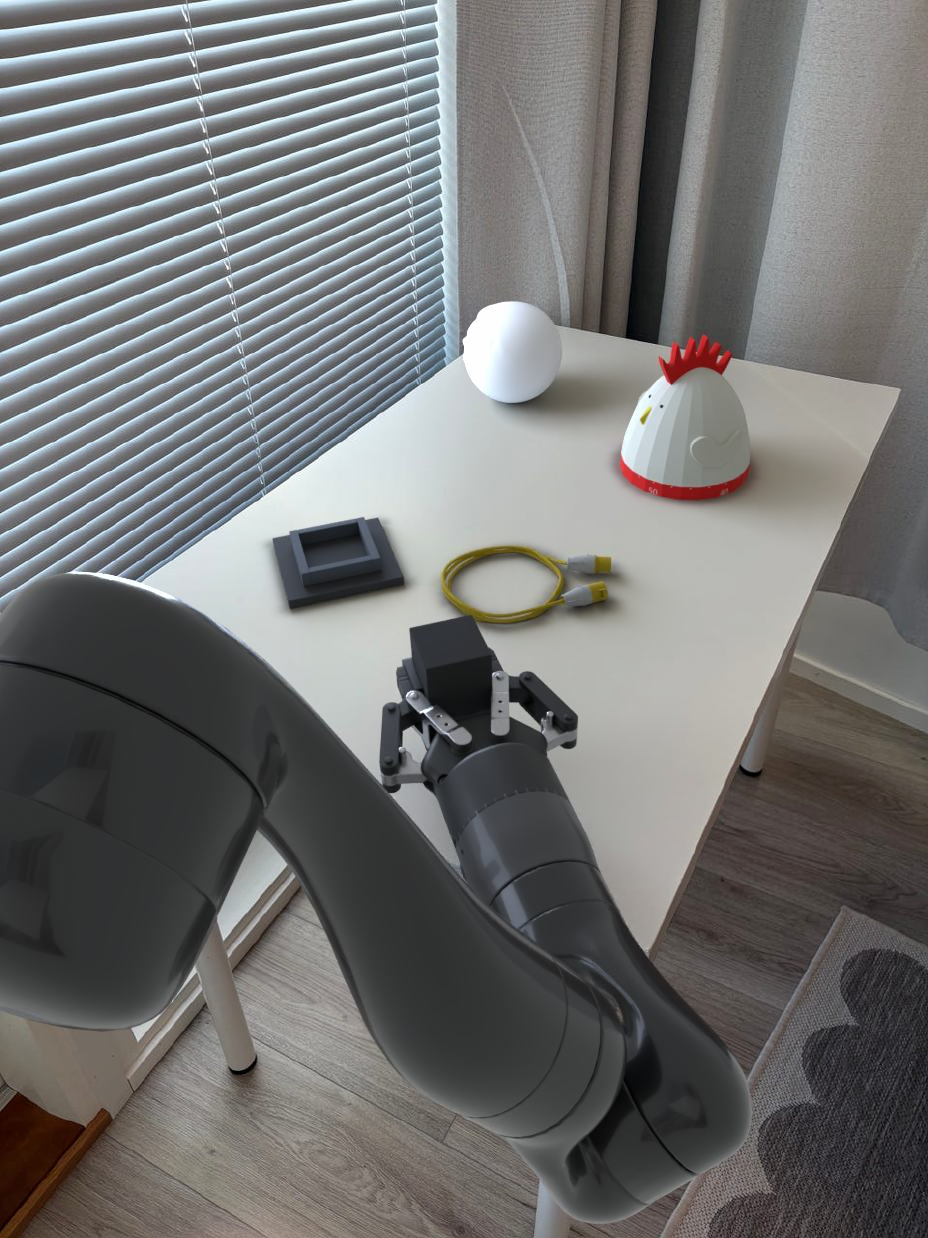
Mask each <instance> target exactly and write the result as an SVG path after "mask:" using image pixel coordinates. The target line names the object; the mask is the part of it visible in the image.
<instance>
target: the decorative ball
mask: <svg viewBox="0 0 928 1238" xmlns="http://www.w3.org/2000/svg"><path fill="white" fill-rule="evenodd" d="M462 345H463V346H464V348H463V357H462V359H463V363H464V364H465V369H466V371H467V374H468V376H469V378H470V380H471V381H472V383H473V384H474V385H475V386H476V387H477V389H478V390H479V391H480V392H482V393H483V394H484V395H485V396H487V397H488V398H490V399H492V400H495V401H497V402H501V403H508V404H517V403H523V402H527V401H530V400H532V399H535V398H536V397H538V396H539V395H541V394H542V393H544V392H545V391H546V390H547V389H548V388H549V387H551V385H552V383H553V382H554V381H555V380H556V379H555V378H557V376H558V373H559V370H560V368H561V363H562V359H563V357H562V356H563V343H562V339H561V336H560V333H559V330H558V328H557V326H556V324H555V323H554V321H553V320H552V319H551V317H549V315H548V314H546V313H545V312H544V311H543V310H542V309H540V308H538V307H537V306H536V305H533V304H530V303H528V302H523V301H515V300H514V301H501V302H498V303H494V304H489V305H487V306H485V307H484V308H482V309H481V310H479V312H478V313H477V316H476V319H475V320H474V321H473V322H472V323H471V324H470V326H469V327H468V329H467V333H466V336H465V337H464V338H463V339H462Z"/></svg>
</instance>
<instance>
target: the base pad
mask: <svg viewBox="0 0 928 1238" xmlns="http://www.w3.org/2000/svg"><path fill="white" fill-rule="evenodd" d="M288 533H289V534H287V535H281V536H277V537H272V538H271V539H272V544H273V549H274V552H275V556H276V560H277V564H278V568H279V572H280V576H281V580H282V584H283V587H284V591H285V596H286V600H287V603H288V608H289V609H290V610H292V609H297V608H301V607H307V606H311V605H315V604H321V603H324V602H330V601H334V600H339V599H343V598H348V597H353V596H357V595H362V594H366V593H367V594H368V593H373V592H377V591H381V590H386V589H391V588H395V587H400V586H404V585H405V579H404V575H403V573H402V570H401V568H400V565H399V563H398V561H397V559H396V557H395V553H394V552H393V549H392V547H391V545H390V542H389V540H388V537H387V535H386V533H385V530H384V527H383V526H382V523H381V521H380V519H379V517H374V518H368V519H365V516H361V517H356V518H351V519H346V520H340V521H336V522H330V523H326V524H320V525H315V526H311V527H305V528H299V529H293V530H289V532H288Z"/></svg>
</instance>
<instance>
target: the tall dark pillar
mask: <svg viewBox="0 0 928 1238" xmlns="http://www.w3.org/2000/svg"><path fill="white" fill-rule="evenodd" d="M408 629H409V638H410V639H409V640H410V652H411V657H412V661H413V663H414V666H415V668H416V671H417V673H418V676H419V678H420V681H421V684H422V686H423V691H424V695H425V696H426V697H427V698H428V700H430V701H431V702H432V703H433V704H434V705H437V704H438V705H439V706H441V707H442V708H443V710H444V711H445V712H446V713H447V714H448V715H449V716H450V717H451V718H452V717H457V716H470V715H472V714H474V713H477V712H479V711H482V710H486V709H490V708H491V685H492V654H491V652H490V650H489V648H490V647H489V646H488V644H487V642H486V640H485V638H484V636H483V634H482V632H481V629H480V628H479V626H478V624H477V622H476V620H475V619H474V618H473V616H472V615H468V616H467V615H462V616H459V617H454V618H449V619H444V620H440V621H436V622H430V623H426V624H421V625H416V626H413V627H409V628H408ZM488 647H489V648H488ZM421 741H422V743H423V745H424V748H425V750H426V752H427V750H428V749H427V747H426V746H425V744H424V741H423V739H422V738H421Z"/></svg>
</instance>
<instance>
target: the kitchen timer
mask: <svg viewBox="0 0 928 1238" xmlns="http://www.w3.org/2000/svg"><path fill="white" fill-rule="evenodd" d="M721 351H722V344H720V343H718V342H717V341H715V342H714V343H713V345H712V347H711V348H710V338H709V337H708V336H707V335H705V334H702V336H701V337H700V341H699V344H698V347H697V341H696V339H695V338H693V337H691V336H690V337H689V339H688V341H687V344H686V347H685V351H684V354H683V357H682V351H681V348H680V345H679V344H678V343H676V342H674V341H673V342H672V344H671V351H670V357H669V362H666V360H665V359H664V358H662V357H661V356H660V355H658V362H659V367H660V368H661V371H662V373H663V375H662V376H661V377H659V378H658V379H657V380H656V381H655V382H654V383H653V384H652V385H651V386H650V388H648V389H646V390H645V391H643V392H642V394H640V396H639V398H638V401H637V405H636V407H635V409H634V411H633V414H632V416H631V418H630V421H629V422H628V425H627V427H626V431H625V434H624V437H623V441H622V446H621V451H620V460H619V461H620V462H619V468H620V470H621V473H622V476H623V477H624V478H625V479H626V480H627V481H628V482H629V483H630V484H631V485H632V486H635V487H636V488H638V489H640V491H642V492H645V493H649V494H650V495H654V496H657V497H659V498H666V499H671V500H678V501H702V500H703V501H704V500H709V499H715V498H716V499H717V498H720V497H722V496H725V495H728V494H731V493H733V492H735V491H736V490H738V489H739V488H740V487H742V486H743V485H744V483H745V481H746V480H747V478H748V476H749V472H750V465H751V441H750V439H751V438H750V431H749V427H748V422H747V417H746V412H745V409H744V407H743V404H742V402H741V400H740V398H739V396H738V395H737V393H736V391H735V390H734V388H733V386H732V385H731V383H730V382H729V381H728V380H727V379H726V378H725V377H724V376H723V374H724V373H725V371H726V369H727V367H728V366H729V364H730V362H731V360H732V357H733V353H732V352H730V351H729V350H725V352H724V353H723V355H722V356H721V357H720V359H719V355H720V353H721ZM718 359H719V360H718Z"/></svg>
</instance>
